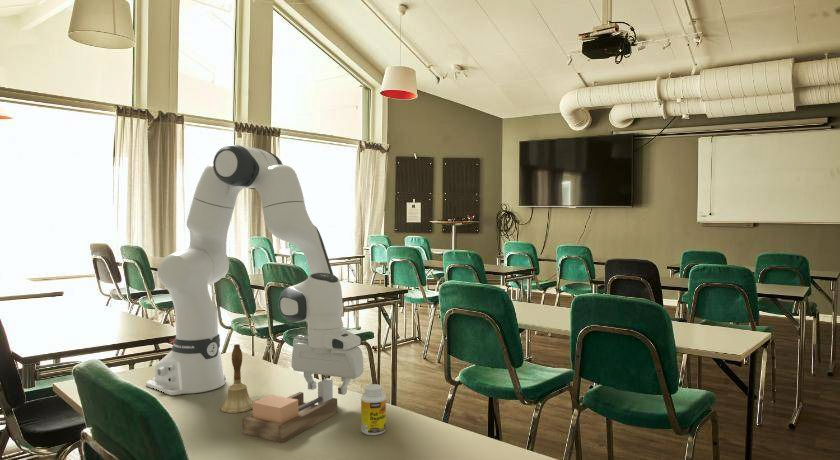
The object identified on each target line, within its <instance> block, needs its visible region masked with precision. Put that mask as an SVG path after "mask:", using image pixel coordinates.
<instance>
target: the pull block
mask: <svg viewBox="0 0 840 460" xmlns="http://www.w3.org/2000/svg"><path fill="white" fill-rule="evenodd" d="M333 383H334V381H333V379H332V378H328V377H327V378H325V379H323V380H321V381H318V382H317V397H316V398H315V399H312V400H310V401H308V402H305V403H306V404H304V405H302V406H300V407H298V400H297V399H292V398H287V397H286V396H281V395H275V394H269V395H267V396H265V397H263V398H260V399H258V400H255V401H253V409H252V413H253V418H257V419H262V420H266V421H271V422H276V423H280V424H283V423H285V422H287V421H289V420H291V419H293V418H295V417H297V416H299V412H300V411H302V410H304V409H306V408H308V407H310V406H312V405H314V404H315V405H320V404H322V403H324V402H326V401H328V400H330V399H332V398H334V395H333V394H334V393H333V391H334V390H333V385H334V384H333Z"/></svg>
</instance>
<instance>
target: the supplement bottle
mask: <svg viewBox="0 0 840 460" xmlns="http://www.w3.org/2000/svg"><path fill="white" fill-rule="evenodd" d="M360 404H361V405H360V406H361V407H360V414H361V415H360V418H361V421H360V422H361V425H360V430H361V432H362V433H363V434H365V435H367V436H379V435H381V434H383V433H385V431H386V429H387V411H386V410H387V397H386V394H384V393H383V385H381V384H378V383H377V384H376V383H372V384H367V385H365V386H364V394H362V395H361V397H360Z"/></svg>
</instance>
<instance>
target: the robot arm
mask: <svg viewBox="0 0 840 460" xmlns="http://www.w3.org/2000/svg"><path fill="white" fill-rule="evenodd" d="M212 162H213V163H210V164H208V165H207V166H206V167H205V168H204V170H203V172H202V174H201V175H200V178H199V180H198V183H197V185H196V188H195V191H194V194H193V197H192V201H191V205H190V208H189V212H188V216H187V219H186V227H187V229H188V231H189V236H190V237H189V238H190V239H189V240H190V241H189V247H188V249H181V250H177V251H173V252H172V253H170V254H168V255H167V256H165V257H163V258H162V259H161V260H160V262H159V264H158V266H157V277H158V279H159V282H160V283H161V285H162V286H163V287H164V288H166V290H167V292H169V295H170V298H171V301H172V303H173V309H174V317H175V319H174V320H175V337H174V338H171V339H169V341H171V342H169V344H170V345H172V347H171V350H170V351H169V352H168V353H167V354H166V355H165V356H164V357H162V359H160V360H159V361H158V362H157V363H156V364H155V368H154V370H155V371H154V377H152V378H151V379H149V380H148V379H147V381H146V382H145V386H146V387H148V388H151V389H153V388H154V390H156V389H157V390H156V391H158V390H159V391H158V392H161V391H162V393H163V392H164V393H163V394H166V395H169V396H177V395H182V394H183V395H185V394H197V393H198V394H199V393H205V392H209V391H214V390H216V389H219V388H221V387H223V386H224V385H225V384H226V381H225V379H226V374H225V373H224V370H223V364H222V363H223V362H222V354H221V351H220V346H221V338H220V333H219V332H218V331H219V325H218V324H219V322H218V321H219V320H218V319H219V318H218V308H217V307H218V306H217V305H216V304H215V303H214V302H213V300H212V299H211V296H210V292H209V288H208V287H209V285H212V284H215V283H218V281H220V280H222V278H224V277H226V275H227V273H228V271H229V269H230V259H229V256H228V255H227V241H228V240H227V239H228V231H229V227H230V225H231V221H232V220H231V219H232V218H233V217H232V216H233V213H234V210H235V206H236V203H237V198H238V195H239V194H240V192H241V191H242V190H243V189H249V190H256V191H257V192H258V194H259V197H260V202H261V208H262V213H263V214H262V215H263V220H264V224H265V226H266V229H267V231H269V233H270V234H271V235H273V236H274V237H275V238H277V239H279V240H281V241H283V242H286V243H290V245H291V244H292V245H293V246H295V247H297V248H298V249H299V250H300V251H302V253H303V254H304V257H305V261H306V263H307V267H308V270H309V272H310V275H309V276H308V277H307V278H306V279H305V280H304V281H302V282H299V283H297V284H294V285H291V286H288V287H285V288H284V289H283V290H282V291H281V292H280V295H279V298H278V310H279V312H280V315H281V316H282V317H283V319H284V320H286V321H287V322H289V323H302V322H306V323H307V335H303V334H298V335H297V336H295V337H294V338H293V340H292V353H291V368H292V370H293V371H295V372H301V373H303V377H304V379H305V381H306V383H307V389H308V390H309V391H314V390H316V389H317V381H315V380H314V379H313V375H322V376H329V377H336V378H340V380H341V382H342V384H341V385H340V386H339V387H338V388H337V390H338V391H337V392H338V395H342V396H344V395H346V394H347V392H348V386H349V384H350V382H351V380H356V379H358V378H360V377H361V376H362V375H363V373H364V358H363V357H364V355H363V351H362V349H361V347H360V346H359V345H361V341H362V339H361V337H360V336H359V335H356V334H354V333H352V332H350V331H348V330H347V329H345V328H344V322H343V318H342V314H343V313H342V312H343V310H344V309H343V305H344V304H343V290H342V285H341V281H340V280H339V278H338V276H336V275H334V273H333V270H332V266H331V263H330V260H329V257H328V253H327V250H326V246H325V244H324V241H323V238H322V235H321V233H320V231H319V229H318V227H317V226H316V225H314V223H313V222H312V220H311V218H310V215H309V214H308V212H307V211H308V210H307V207H306V203H305V198H304V194H303V189H302V187H301V183H300V181H299V178H298V176H297V173H296V171H295V170H294V169H293V167H291V166H289V165H287V164H286V165H285V164H283V162H282V161H281V159H280V158H279V157H278V156H277V155H276V154H274V153H272V152H270V151H267V150H264V149H261V148H257V147H254V146H253V147H251V146H250V147H249V146H243V145H239V144H231V145H226V146H223V147H221V148H220V149H219V150H217V152H216V153H215V154H214V157H213V161H212Z"/></svg>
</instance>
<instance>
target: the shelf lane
mask: <svg viewBox="0 0 840 460" xmlns="http://www.w3.org/2000/svg"><path fill="white" fill-rule="evenodd" d="M287 398H292V399H297V400H298V407H300V406H302V405H304V404H306V403H307V402H304V400H305V399H304V392H302V391H299V392H297V393H294V394H292V395H289V396H288V397H287ZM337 413H338V398H335V397H333V398H332V399H330V400H328V401H326V402H324V403H322V404H320V405H318V404H314V405H312V406H310V407H308V408H306V409H304V410H302V411H300V412H299V416H297V417H295V418H293V419H291V420H289V421H287V422H285V423H283V424H280V423H276V422H271V421H266V420H262V419H257V418H253V412H252V413H250V414H248V415H247V414H246V416H244V417H242V418H241V422H242V426H241V427H242V428H241V429H242V432H241V433H242V434H244V435H248V436H252V437H253V436H254V437H257V438H260V439H261V438H262V439H265V440H270V441H274V442H279V443H281V444H282V443H286V441H289V440H291V439H292V438H294V437H296V436H298V435H300V434H301V433H304V431H306V430H307V431H308V430H309V429H311V428H312V427H314V426H316V425H318V424H320V423H322V422H323V421H325V420H327V419H328V418H330V417H332V416H334V415H335V414H337Z"/></svg>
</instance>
